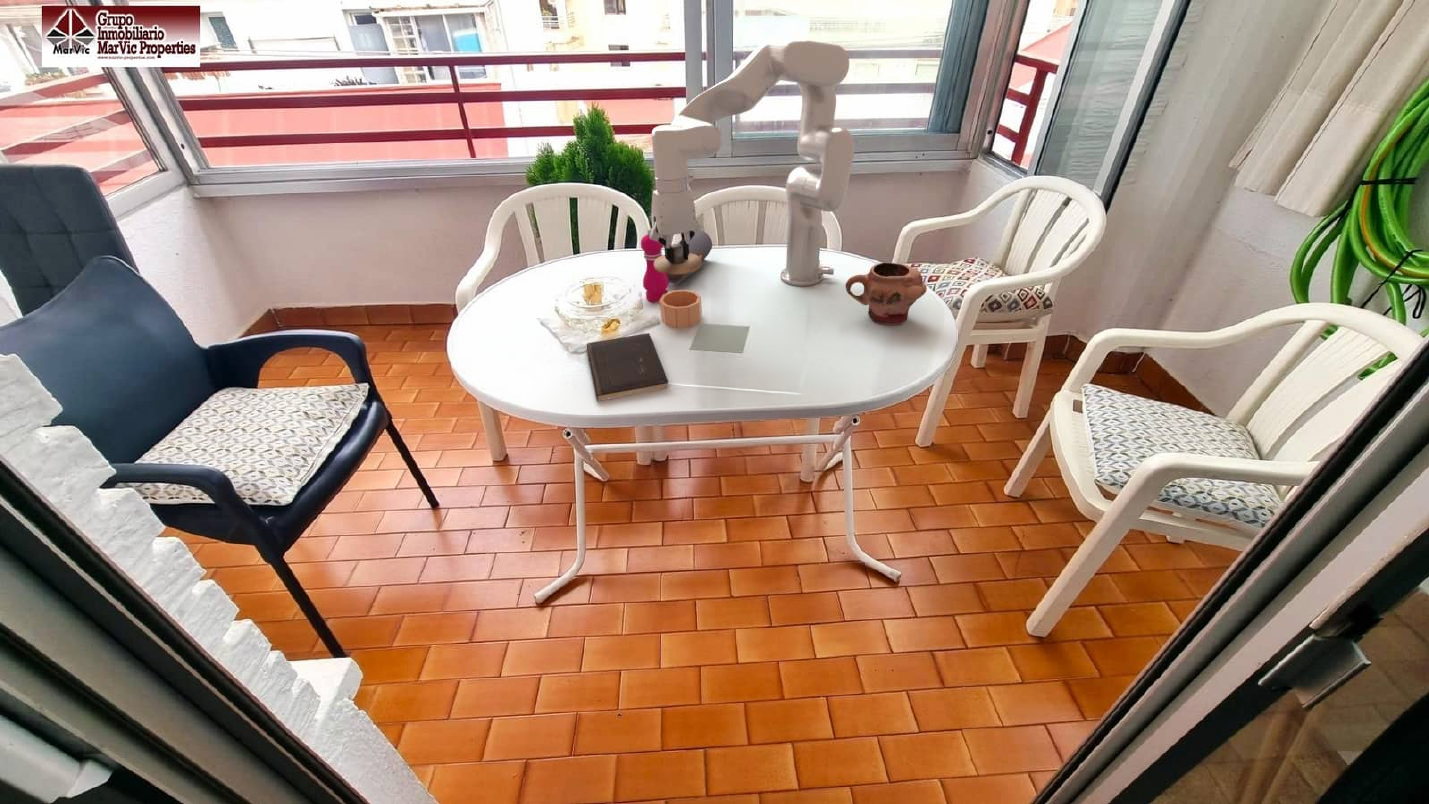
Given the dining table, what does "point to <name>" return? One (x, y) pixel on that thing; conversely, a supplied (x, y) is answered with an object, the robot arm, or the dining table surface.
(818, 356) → the dining table surface
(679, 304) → the bowl
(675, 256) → the lid
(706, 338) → the mat
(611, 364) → the hardcover book
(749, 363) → the dining table surface
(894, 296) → the terracotta clay mug
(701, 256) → the bluetooth speaker
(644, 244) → the pepper mill
